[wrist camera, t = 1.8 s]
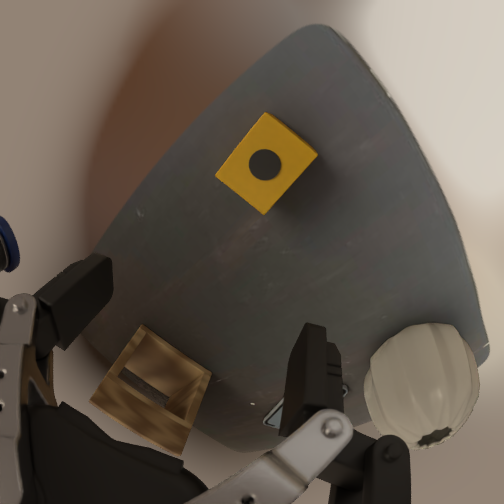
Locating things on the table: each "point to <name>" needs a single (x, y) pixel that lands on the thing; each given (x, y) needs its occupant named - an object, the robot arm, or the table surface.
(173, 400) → the shelf
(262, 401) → the table surface
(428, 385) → the vase
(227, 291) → the table surface
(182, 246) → the table surface
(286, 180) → the measuring tape
